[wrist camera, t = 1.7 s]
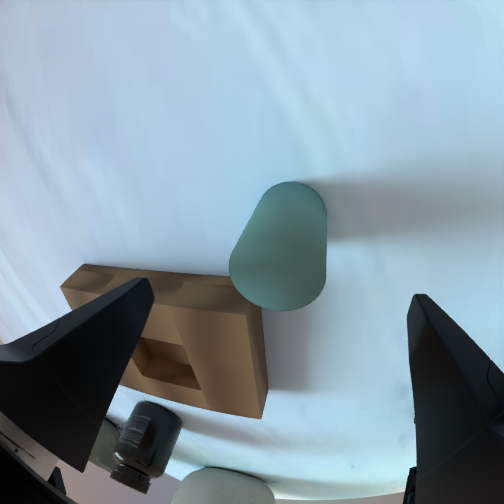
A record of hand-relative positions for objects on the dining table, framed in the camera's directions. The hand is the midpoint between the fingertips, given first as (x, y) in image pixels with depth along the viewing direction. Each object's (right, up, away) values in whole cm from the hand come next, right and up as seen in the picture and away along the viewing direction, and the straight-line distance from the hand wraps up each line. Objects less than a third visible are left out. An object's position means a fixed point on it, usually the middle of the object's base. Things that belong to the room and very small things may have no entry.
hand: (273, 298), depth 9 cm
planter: (-4, -45, +37) cm, 58 cm away
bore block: (-7, -5, +12) cm, 15 cm away
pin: (+1, +3, +5) cm, 6 cm away
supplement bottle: (-13, -20, +24) cm, 33 cm away
